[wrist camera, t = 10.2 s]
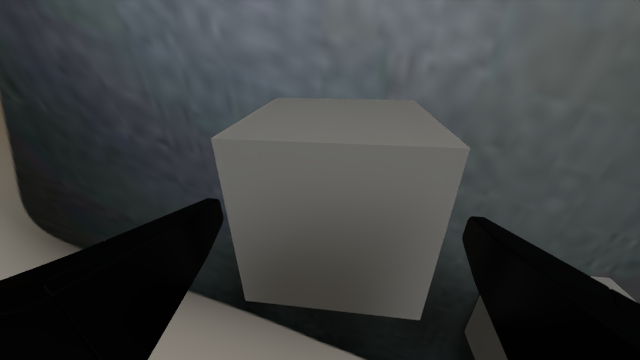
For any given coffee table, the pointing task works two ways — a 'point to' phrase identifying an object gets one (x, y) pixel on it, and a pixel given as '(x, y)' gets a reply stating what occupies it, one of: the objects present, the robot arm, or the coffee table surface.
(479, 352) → the grey stool
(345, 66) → the coffee table surface
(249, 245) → the grey piece
